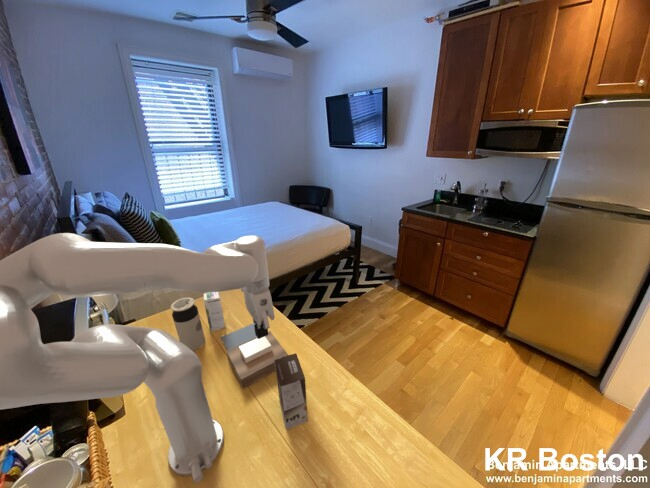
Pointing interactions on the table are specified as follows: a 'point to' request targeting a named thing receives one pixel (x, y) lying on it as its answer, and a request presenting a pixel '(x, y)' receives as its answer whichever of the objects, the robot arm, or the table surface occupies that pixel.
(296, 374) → the coffee box
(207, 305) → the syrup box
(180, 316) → the travel mug
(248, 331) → the mat
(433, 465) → the table surface
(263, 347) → the white block
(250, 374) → the brown stand
